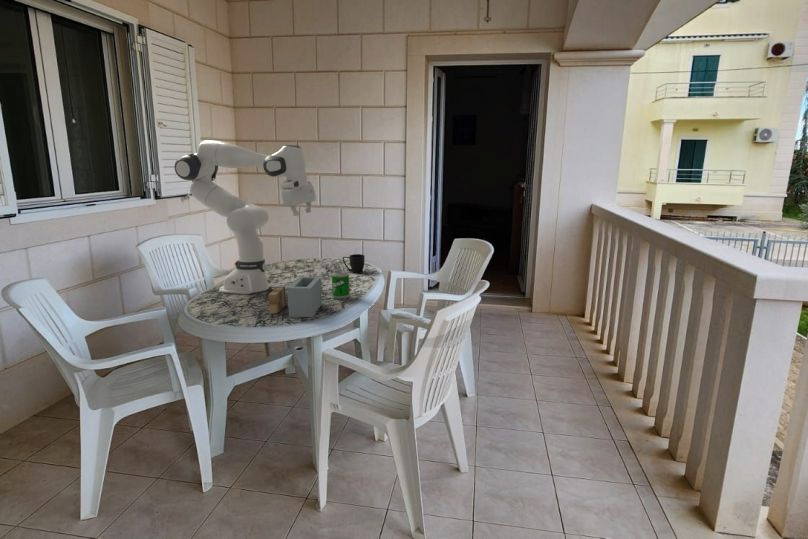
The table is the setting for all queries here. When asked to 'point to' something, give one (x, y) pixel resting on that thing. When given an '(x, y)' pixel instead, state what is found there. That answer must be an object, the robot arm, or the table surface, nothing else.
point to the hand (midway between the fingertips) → (302, 214)
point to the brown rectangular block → (277, 300)
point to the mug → (356, 263)
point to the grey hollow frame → (304, 296)
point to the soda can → (340, 284)
